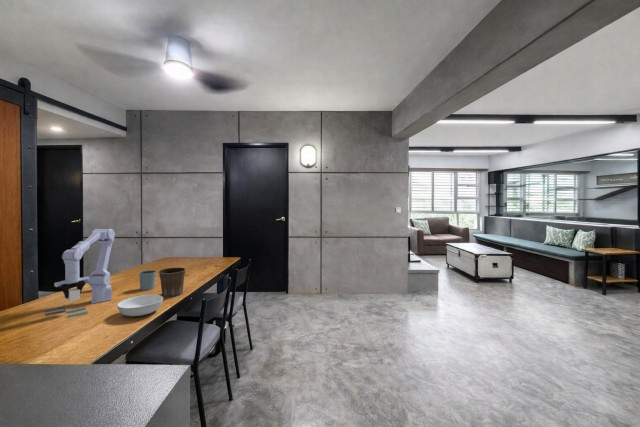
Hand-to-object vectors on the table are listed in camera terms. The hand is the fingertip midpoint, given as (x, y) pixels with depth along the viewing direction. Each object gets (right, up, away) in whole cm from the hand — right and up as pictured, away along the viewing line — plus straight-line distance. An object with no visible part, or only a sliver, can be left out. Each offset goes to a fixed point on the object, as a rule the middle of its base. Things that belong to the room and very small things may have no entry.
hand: (72, 296), depth 149 cm
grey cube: (0, -1, 0) cm, 2 cm away
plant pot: (+36, -9, +33) cm, 50 cm away
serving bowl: (+36, -10, +1) cm, 38 cm away
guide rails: (-4, -9, +1) cm, 10 cm away
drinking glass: (+13, -8, +45) cm, 47 cm away
